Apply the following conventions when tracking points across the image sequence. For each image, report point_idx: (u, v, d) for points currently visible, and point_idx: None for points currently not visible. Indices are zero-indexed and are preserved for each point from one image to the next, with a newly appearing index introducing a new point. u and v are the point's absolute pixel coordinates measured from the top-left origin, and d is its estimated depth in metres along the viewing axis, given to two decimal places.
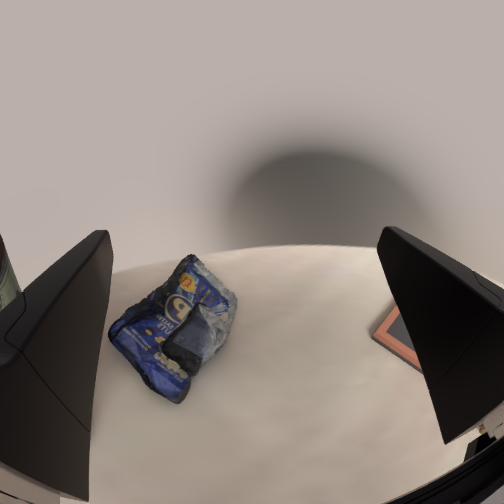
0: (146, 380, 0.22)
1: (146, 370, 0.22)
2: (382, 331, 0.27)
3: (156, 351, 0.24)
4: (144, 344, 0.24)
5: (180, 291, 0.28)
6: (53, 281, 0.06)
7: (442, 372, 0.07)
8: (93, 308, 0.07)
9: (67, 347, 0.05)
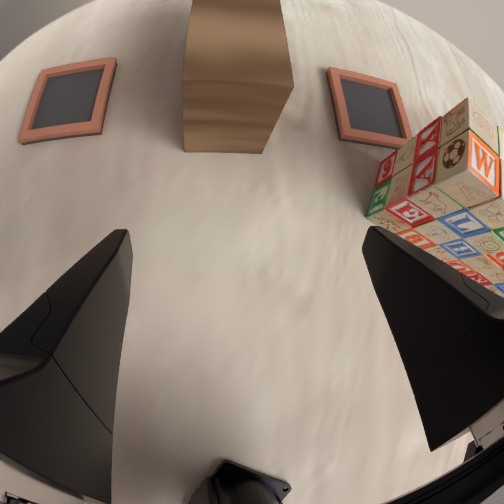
0: None
1: None
2: (24, 133, 0.19)
3: None
4: None
5: None
6: (78, 281, 0.06)
7: (428, 377, 0.07)
8: (116, 308, 0.07)
9: (93, 348, 0.06)
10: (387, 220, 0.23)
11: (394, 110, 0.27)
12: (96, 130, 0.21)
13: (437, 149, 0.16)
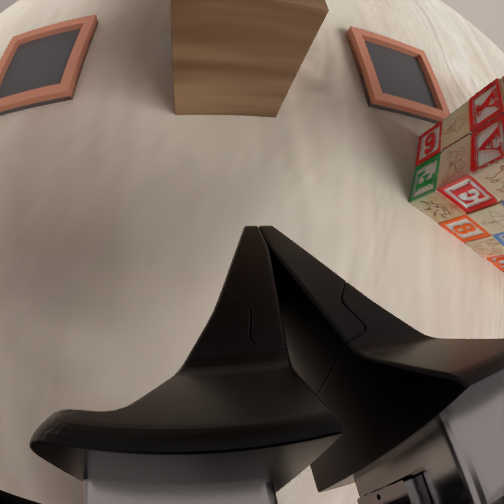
0: None
1: None
2: None
3: None
4: None
5: None
6: (255, 277, 0.06)
7: None
8: None
9: None
10: (437, 205, 0.17)
11: (424, 79, 0.21)
12: (66, 93, 0.15)
13: (503, 114, 0.10)
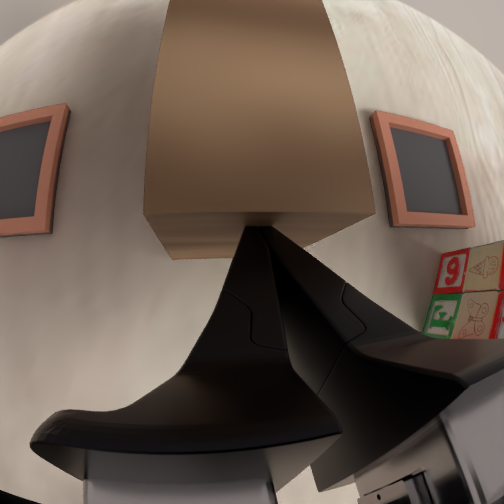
0: None
1: None
2: None
3: None
4: None
5: None
6: (255, 277, 0.06)
7: None
8: None
9: None
10: None
11: (451, 171, 0.20)
12: (43, 231, 0.14)
13: None
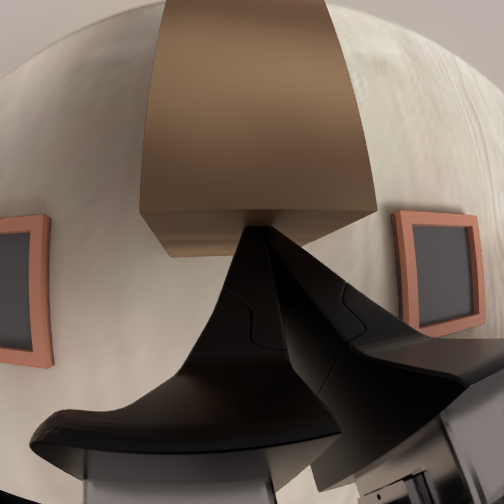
0: None
1: None
2: None
3: None
4: None
5: None
6: (255, 277, 0.06)
7: None
8: None
9: None
10: None
11: (469, 264, 0.18)
12: (46, 367, 0.13)
13: None
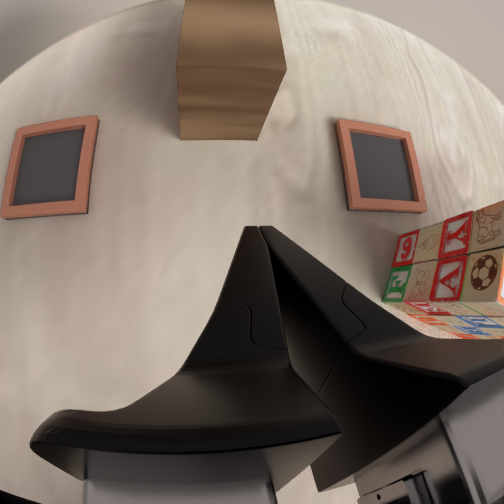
0: None
1: None
2: (5, 209, 0.18)
3: None
4: None
5: None
6: (255, 277, 0.06)
7: None
8: None
9: None
10: (404, 307, 0.22)
11: (406, 166, 0.25)
12: (82, 211, 0.20)
13: (466, 257, 0.15)
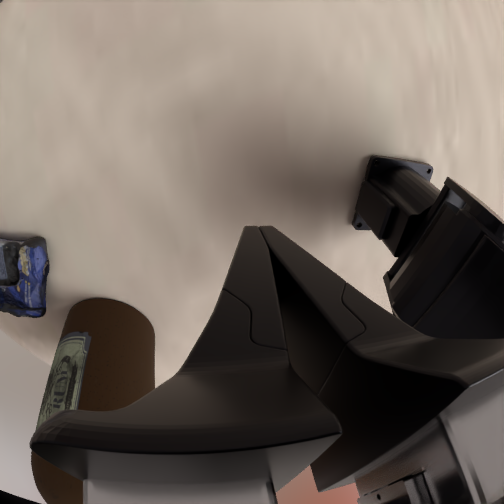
0: (46, 269, 0.22)
1: (41, 273, 0.23)
2: None
3: (24, 274, 0.22)
4: (27, 286, 0.23)
5: None
6: (255, 277, 0.06)
7: None
8: None
9: None
10: None
11: None
12: None
13: None
